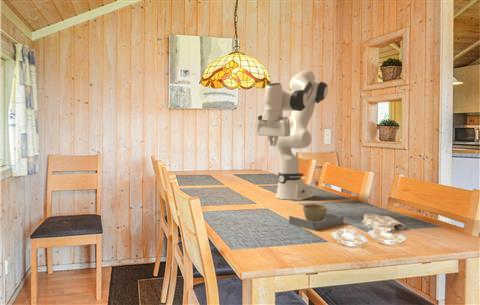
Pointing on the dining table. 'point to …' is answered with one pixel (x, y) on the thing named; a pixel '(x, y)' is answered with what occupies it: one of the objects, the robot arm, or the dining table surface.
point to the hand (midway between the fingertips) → (273, 145)
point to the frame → (327, 222)
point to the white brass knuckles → (381, 221)
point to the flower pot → (314, 212)
